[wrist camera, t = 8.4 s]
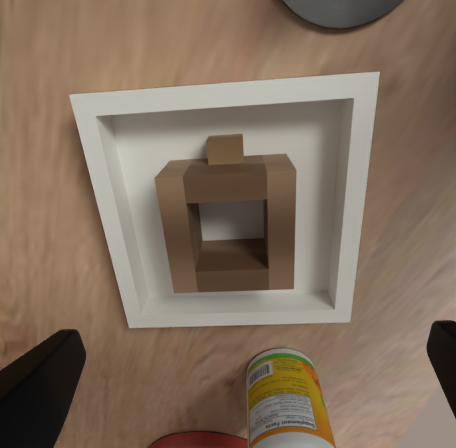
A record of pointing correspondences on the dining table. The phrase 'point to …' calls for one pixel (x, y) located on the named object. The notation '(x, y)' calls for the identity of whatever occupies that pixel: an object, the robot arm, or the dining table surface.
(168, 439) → the stacking bear
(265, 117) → the tray
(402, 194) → the dining table surface
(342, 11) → the grey rounded piece
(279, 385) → the supplement bottle
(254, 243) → the brown hollow block
